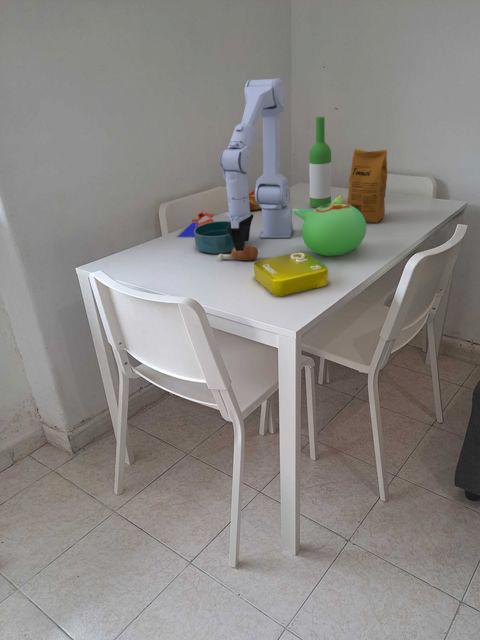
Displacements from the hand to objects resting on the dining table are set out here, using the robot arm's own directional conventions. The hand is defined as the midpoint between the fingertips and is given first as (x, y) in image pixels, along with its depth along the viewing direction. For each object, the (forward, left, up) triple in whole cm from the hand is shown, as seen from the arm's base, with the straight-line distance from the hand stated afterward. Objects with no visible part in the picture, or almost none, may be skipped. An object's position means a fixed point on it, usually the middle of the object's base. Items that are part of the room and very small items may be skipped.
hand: (242, 245), depth 139 cm
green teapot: (-25, -5, -4) cm, 26 cm away
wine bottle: (-19, -54, -4) cm, 57 cm away
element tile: (-15, +15, -4) cm, 22 cm away
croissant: (+3, -56, -4) cm, 56 cm away
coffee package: (-35, -37, -4) cm, 51 cm away
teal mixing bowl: (+9, -12, -4) cm, 16 cm away
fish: (+19, -28, -4) cm, 34 cm away
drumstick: (+2, 0, -4) cm, 4 cm away
